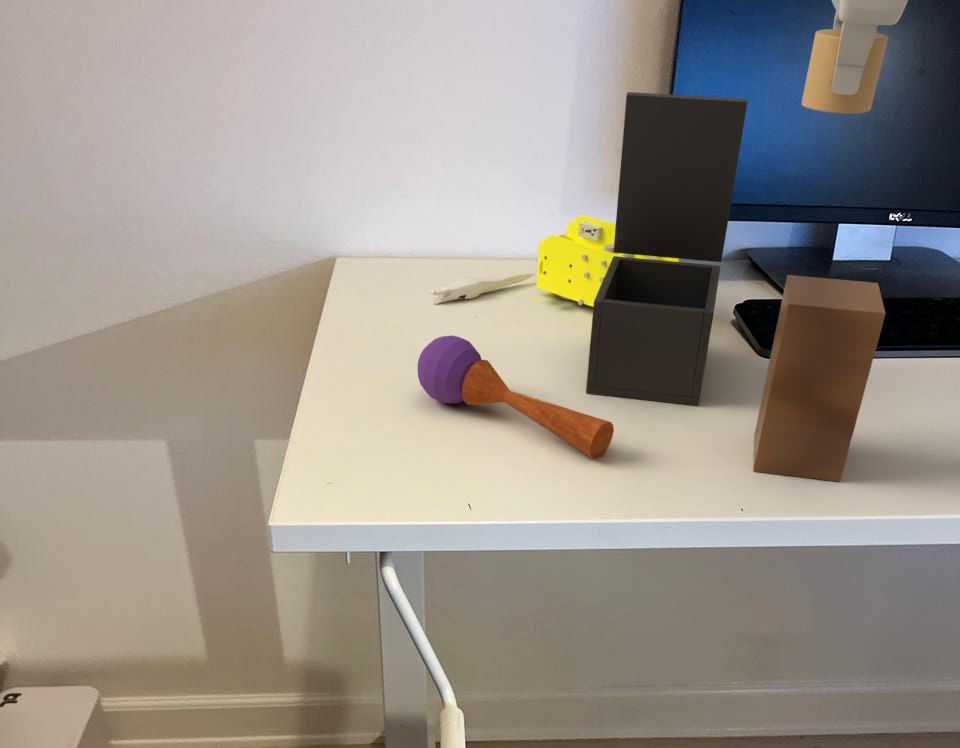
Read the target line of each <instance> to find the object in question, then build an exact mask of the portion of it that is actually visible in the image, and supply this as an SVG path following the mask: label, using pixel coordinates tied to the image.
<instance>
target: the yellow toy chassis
mask: <svg viewBox="0 0 960 748" xmlns="http://www.w3.org/2000/svg"><path fill="white" fill-rule="evenodd" d="M615 227H616V223H611V222H608V221H605V220H602V219H597V218H595V217H591V216H590V217H589V216H587V215H584V214H580V215H578V216H577V217H576V218H575V219H573V220H572V221H571V222H570V223H568V224H567V225H566V233H563V234H559V235H555V234H550V235H549V236H548V237H546V238H544V239H542V240H541V241H539V243H538V246H537V263H536V264H537V265H536V281H535V283H536V284H535V287H536V288H538V289H540V290H542V291H546V292H548V293H552V294H555V295H557V296H558V297H559V298H561V299H563V300H567V301H575V302H577V304H578V305H579V306H583V305H586V306H589V307H593V306H594V300H595V298H596V295H597V293H598V291H599V288H600V286H601V284H602V282H603V279H604V277H605V275H606V272H607V270H608V268H609V265H610V263H611V261H612V258H613V256H618V257H629V258H640V259H651V260H663V261H674V262H681V259H679V258H667V257H656V256H645V255H634V254H622V253H614V252H613V251H614V239H615Z"/></svg>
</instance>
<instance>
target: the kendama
mask: <svg viewBox="0 0 960 748" xmlns="http://www.w3.org/2000/svg"><path fill="white" fill-rule="evenodd" d="M417 378H418V382H419V384H420V386H421V387H422V389H423V390H424V392H425V393H426V394H427V395H428V396H429V397H430V398H431V399H433V400H435V401H437V402H439V403H442V404H460V403H462V402H464V403H465V404H466V405H468V406H476V405H477V406H479V405H491V404H503V403H505V404H507V405H508V406H510V407H511V408H512V409H514V410H516V411H517V412H519V413H521V414H522V415H524V416H525V417H527V418H529V419H530V420H532V421H533V422H535V423H536V424H537V425H539V426H541V427H543V428H544V429H546V430H547V431H549V432H550V433H552V434H554V435H555V436H557V437H558V438H559V439H561V440H563V441H565V442H566V443H567V444H569V445H571V446H572V447H574V448H575V449H577V450H578V451H580V452H581V453H583V454H585V455H586V456H588V457H589V458H590V459H592V460H597V459H600V458H601V457H602V456H603V455H604V454H605V452H606V451H607V450H608V448H609V447H610V445H611V442H612V440H613V437H614V424H613V422H612V421H609V420H606V419H603V418H599V417H597V416H593V415H590V414H587V413H583V412H580V411H578V410H574V409H570V408H567V407H564V406H561V405H558V404H554V403H551V402H548V401H544V400H541V399H538V398H534V397H532V396H528V395H525V394H522V393H519V392H515V391H513V390H511V389H510V388H509V387H508V386H507V384H506V383H505V382H504V380H503V379H502V377H501V376H500V375H499V373H498V372H497V370H496V369H495V368H494V367H493V365H492V364H491V363H490V361H488V360H487V359H482V356H481V354H480V352H478V350H477V349H476V347H475V346H474V345H473V343H471V342H470V341H469V340H467V339H465V338H463V337H461V336H457V335H442V336H439V337H437V338H434V339H433V340H432V341H430V342H429V343H428V344H427V345H426V346H425V347H424V348H423V349H422V351H421V353H420V354H419V357H418V361H417Z"/></svg>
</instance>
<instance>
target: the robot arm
mask: <svg viewBox="0 0 960 748" xmlns="http://www.w3.org/2000/svg"><path fill="white" fill-rule="evenodd" d="M908 1H909V0H831V3H832V6H833V7H834V10H835V14H834V18H833V25H832V26H833V27H832V29H841V36H840V42H839V48H838V54H837V60H836V62H835V67H834V71H833V76H832V81H831V89H832V92H833V93H834V94H836V95H850V96H851V95H854V94H856V93H857V92H858V90H859V87H860V82H861V78H862V74H863V70H864V66H865V63H866V61H867V58H868V55H869V53H870V50H871V47H872V45H873V42H874V39H875V36H876V33H877V31H878V27H879V26H894V25H897V23H898V22H899V20H900V19H901V17H902V16H903V13H904V11H905V9H906V7H907V4H908Z"/></svg>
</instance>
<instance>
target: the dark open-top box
mask: <svg viewBox="0 0 960 748" xmlns="http://www.w3.org/2000/svg"><path fill="white" fill-rule="evenodd" d="M721 267H722V266H721V265H718V264H707V263H695V262H694V263H693V262H683V261H680V262H674V261H663V260H651V259H640V258H629V257H618V256H613V258H612V261H611V263H610V265H609V268H608V270H607V272H606V275H605V277H604V279H603V282H602V284H601V286H600V288H599V291H598V293H597V295H596V298H595V300H594V306H593V308H592V317H591V328H590V339H589V340H590V341H589V350H588V351H589V352H588V364H587V376H586V387H585V393H586V394H591V395H599V396H600V395H601V396H607V397H616V398H617V397H618V398H623V399H624V398H626V399H633V400H643V401H652V402H661V403H668V404H669V403H670V404H679V405H686V406H694V407H695V406H697V407H699V405H700V398H701V394H702V393H701V392H702V387H703V381H704V373H705V369H706V362H707V356H708V350H709V345H710V338H711V333H712V332H711V331H712V326H713V320H714V313H715V308H716V301H717V294H718V287H719V281H720V275H721V274H720V273H721Z"/></svg>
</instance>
